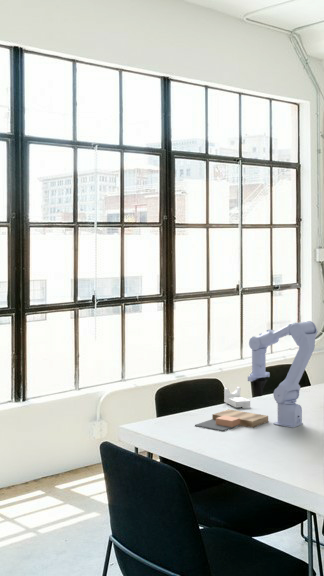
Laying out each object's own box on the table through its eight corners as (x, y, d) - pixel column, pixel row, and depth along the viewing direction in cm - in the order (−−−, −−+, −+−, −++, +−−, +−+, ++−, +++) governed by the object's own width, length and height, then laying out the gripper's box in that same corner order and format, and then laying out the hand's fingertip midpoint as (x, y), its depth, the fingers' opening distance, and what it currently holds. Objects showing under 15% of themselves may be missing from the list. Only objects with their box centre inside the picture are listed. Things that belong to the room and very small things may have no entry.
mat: (239, 425, 277) (239, 424, 277) (223, 431, 268) (223, 430, 268) (212, 420, 286) (212, 419, 286) (194, 426, 277) (194, 424, 277)
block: (240, 424, 277) (240, 418, 277) (231, 427, 272) (231, 421, 272) (224, 421, 282) (224, 415, 282) (215, 424, 277) (215, 418, 277)
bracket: (224, 403, 319) (224, 387, 319) (238, 402, 321) (238, 386, 321) (236, 409, 307) (236, 393, 306) (250, 408, 309) (250, 391, 309)
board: (268, 421, 282) (268, 415, 282) (252, 427, 273) (252, 421, 273) (228, 414, 295) (228, 409, 295) (212, 420, 286) (212, 414, 286)
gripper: (259, 361, 297) (259, 391, 298) (241, 365, 286) (241, 397, 286) (273, 362, 292) (273, 393, 293) (255, 367, 281) (255, 399, 282)
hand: (258, 395), depth 289 cm, fingers closed
